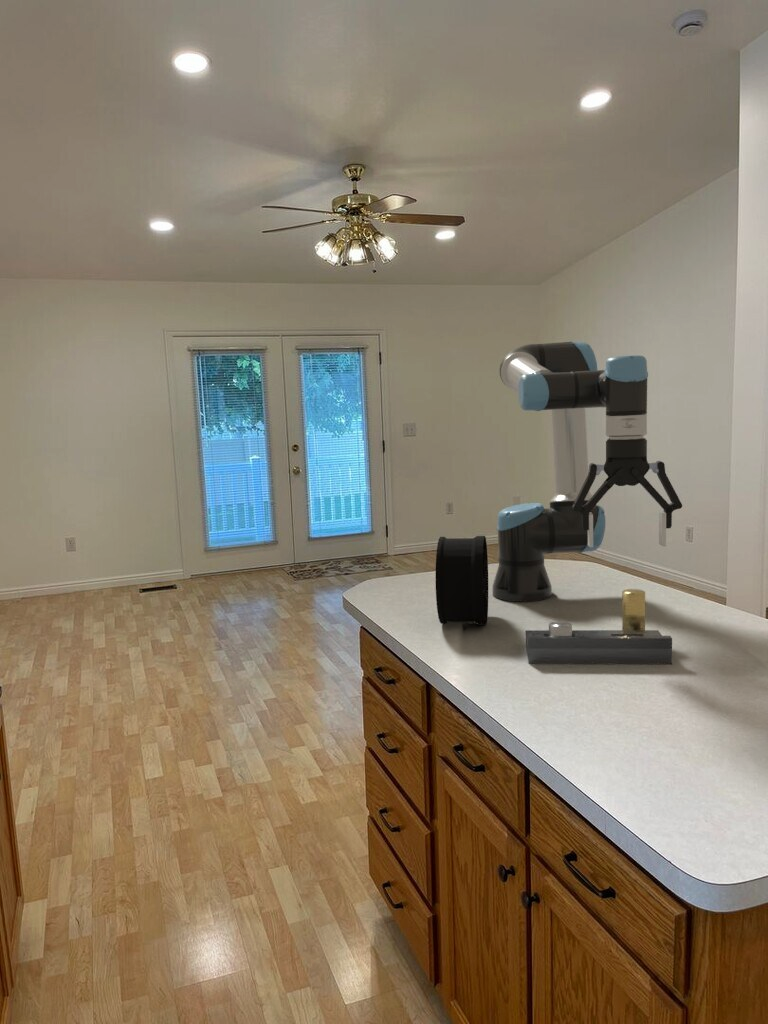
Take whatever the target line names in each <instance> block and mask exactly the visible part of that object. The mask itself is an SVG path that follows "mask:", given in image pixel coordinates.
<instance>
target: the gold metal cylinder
mask: <svg viewBox="0 0 768 1024" xmlns="http://www.w3.org/2000/svg"><path fill="white" fill-rule="evenodd" d="M621 591H622V593H621V595H622V596H621V599H622V601H621V602H622V603H621V604H622V607H621V608H622V609H621V612H622V616H621V618H622V619H621V620H622V621H621V622H622V623H621V624H622V625H621V626H622V627H621V628H622V630H646V591H645V590H642V589H635V588H629V589H623V590H621Z"/></svg>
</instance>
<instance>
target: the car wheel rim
mask: <svg viewBox="0 0 768 1024" xmlns="http://www.w3.org/2000/svg"><path fill="white" fill-rule="evenodd" d="M436 546H437V547H436V554H435V555H436V556H435V600H436V610H437V616H438V621H439V623H440V624H442V625H443V624H444V625H445V624H447V623H475V624H476V625H487V623H488V619H489V617H488V616H489V559H488V544H487V537H486V535H476V536H475V537H469V538H467V537H463V538H459V537H458V538H453V537H452V538H450V537H449V538H448V537H445V536H440V537H439V538H438V541H437V545H436Z"/></svg>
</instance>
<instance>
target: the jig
mask: <svg viewBox="0 0 768 1024" xmlns="http://www.w3.org/2000/svg"><path fill="white" fill-rule="evenodd" d="M524 634H525V649H526V655H527V662H528V664H529V665H530V664H533V665H534V664H535V665H537V664H539V665H540V664H541V665H543V664H546V665H547V664H548V665H550V664H552V665H559V664H561V665H568V664H569V665H673V637H672V636H671V635H662V633H661V632H660V630H658V629H657V630H656V629H653V630H652V629H645V630H621V629H620V630H619V629H615V630H614V629H613V630H611V629H610V630H609V629H607V630H605V629H604V630H603V629H601V630H597V629H596V630H595V629H594V630H593V629H590V630H589V629H587V630H583V629H581V630H580V629H579V630H577V629H576V630H575V629H574V630H573V629H572V636H549V629H547V630H545V629H544V630H541V629H540V630H536V629H534V630H533V629H532V630H530V629H529V630H525V631H524Z"/></svg>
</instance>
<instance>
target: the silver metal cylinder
mask: <svg viewBox="0 0 768 1024" xmlns="http://www.w3.org/2000/svg"><path fill="white" fill-rule="evenodd" d="M548 630H549V636H572V630H573V624H572V623H571V622H568V621H564V620H563V621H562V620H561V621H560V620H559V621H557V620H556V621H555V620H554V621H551V622H549V623H548Z"/></svg>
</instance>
